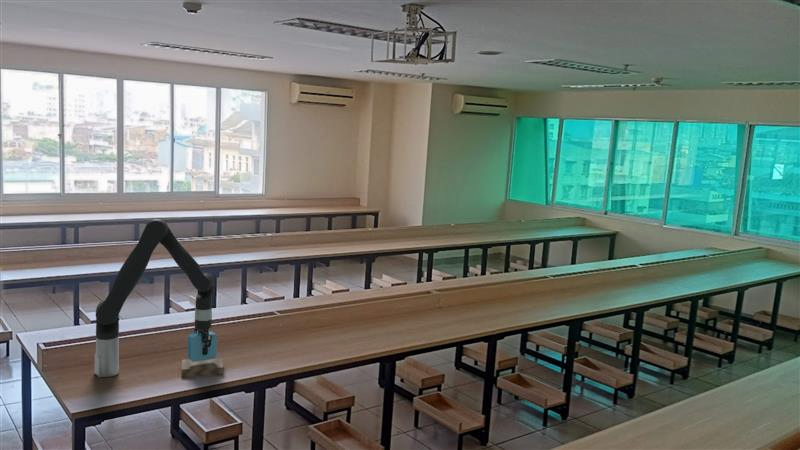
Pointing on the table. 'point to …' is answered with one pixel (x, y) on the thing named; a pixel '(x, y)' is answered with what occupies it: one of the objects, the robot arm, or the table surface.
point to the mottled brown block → (202, 367)
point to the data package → (201, 347)
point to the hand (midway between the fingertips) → (202, 352)
